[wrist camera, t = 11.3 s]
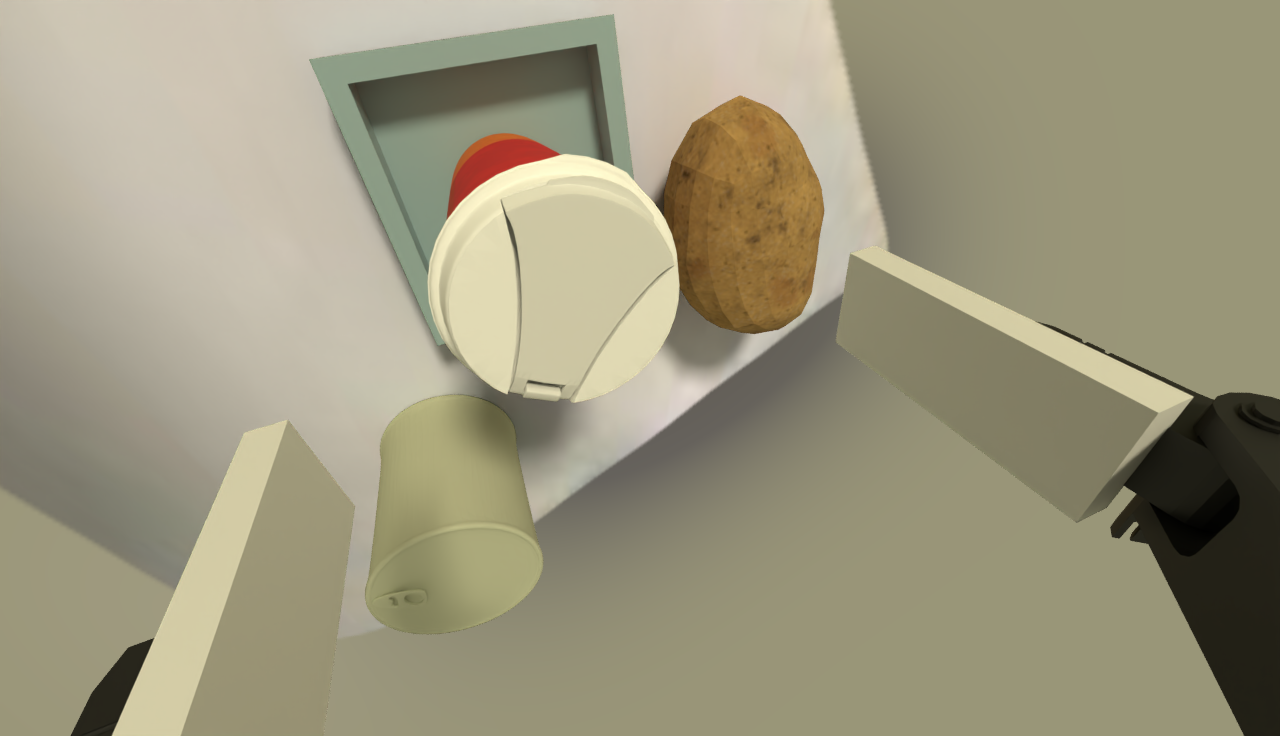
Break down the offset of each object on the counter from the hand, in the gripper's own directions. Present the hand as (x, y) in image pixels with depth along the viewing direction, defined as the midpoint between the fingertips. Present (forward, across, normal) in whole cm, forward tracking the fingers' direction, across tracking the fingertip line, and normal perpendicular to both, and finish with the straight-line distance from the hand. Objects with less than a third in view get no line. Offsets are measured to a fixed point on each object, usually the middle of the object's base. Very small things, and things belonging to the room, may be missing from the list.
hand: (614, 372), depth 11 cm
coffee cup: (+19, 0, -1) cm, 19 cm away
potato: (+20, +13, -4) cm, 24 cm away
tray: (+20, 0, 0) cm, 20 cm away
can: (+20, -9, -17) cm, 28 cm away
